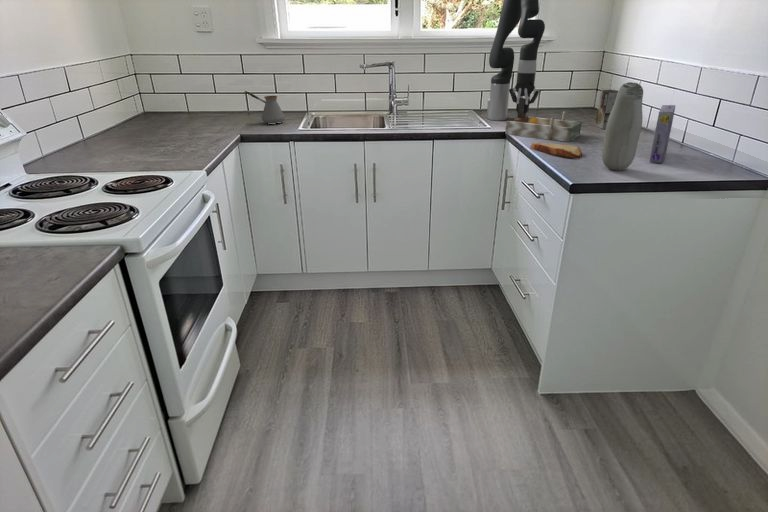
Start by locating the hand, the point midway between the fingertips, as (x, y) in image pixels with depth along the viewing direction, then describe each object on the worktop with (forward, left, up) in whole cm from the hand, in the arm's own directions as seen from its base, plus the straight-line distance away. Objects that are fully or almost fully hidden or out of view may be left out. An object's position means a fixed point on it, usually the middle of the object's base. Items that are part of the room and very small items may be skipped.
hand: (522, 112), depth 216 cm
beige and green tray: (+9, 0, -8) cm, 12 cm away
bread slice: (+25, -27, -9) cm, 38 cm away
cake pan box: (+58, -14, -9) cm, 60 cm away
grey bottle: (+49, -38, -9) cm, 63 cm away
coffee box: (+29, +30, -9) cm, 43 cm away
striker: (0, 0, -5) cm, 5 cm away
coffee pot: (-116, -47, -9) cm, 125 cm away
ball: (+6, 0, -3) cm, 7 cm away
